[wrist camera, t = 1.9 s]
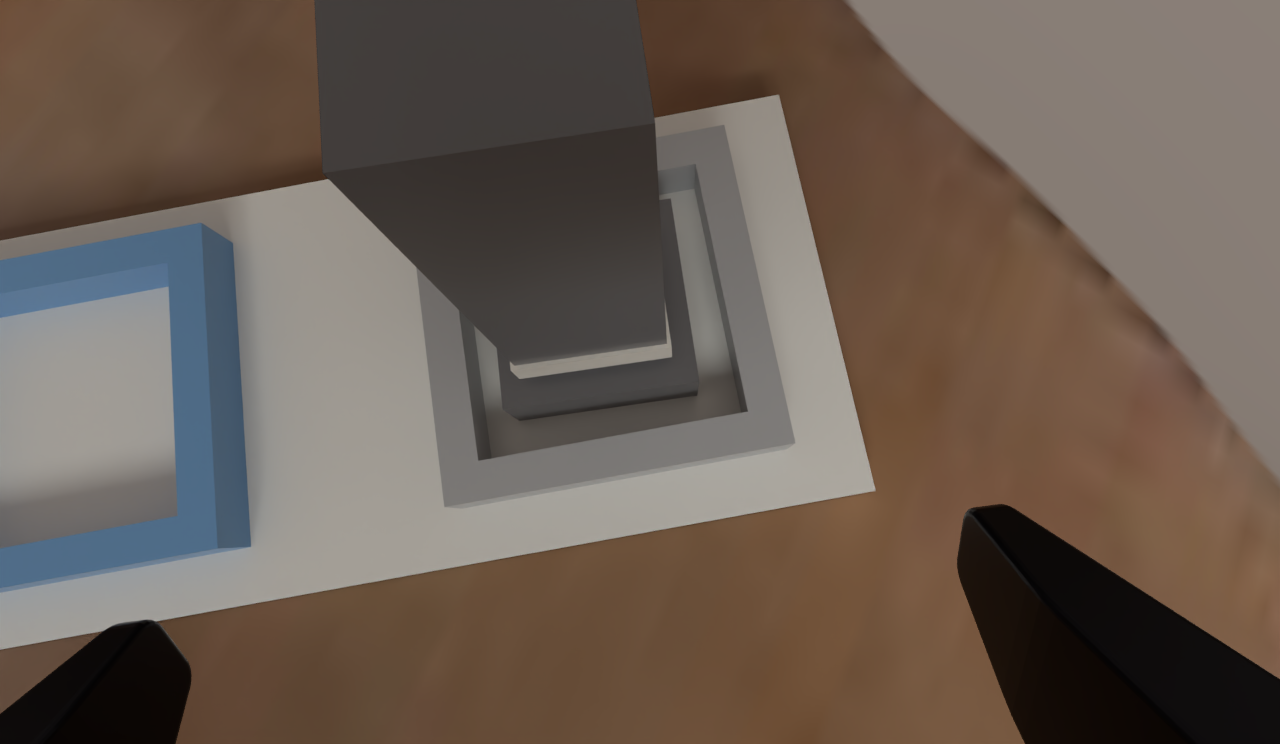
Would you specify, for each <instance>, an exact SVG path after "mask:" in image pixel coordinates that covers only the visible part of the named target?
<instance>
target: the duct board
mask: <svg viewBox="0 0 1280 744" xmlns="http://www.w3.org/2000/svg"><path fill="white" fill-rule="evenodd" d="M654 119H655V130H656V149H657V167H658V186H659V200H663V199H670V198H671V203H672V210H673V216H674V222H675V229H676V235H677V242H678V248H679V254H680V261H681V267H682V274H683V280H684V286H685V293H686V299H687V305H688V312H689V318H690V325H691V331H692V337H693V344H694V350H695V356H696V363H697V369H698V376H699V387H698V394H697V396H691V397H684V398H677V399H670V400H663V401H656V402H649V403H642V404H635V405H628V406H621V407H614V408H607V409H600V410H593V411H586V412H578V413H571V414H564V415H557V416H550V417H543V418H536V419H529V420H522V421H519V420H517V419H516V418H514V417H513V416H511V415H510V414H508V413H507V412H505V411H504V410H503V409H502V398H501V388H500V378H499V367H498V357H497V348H496V347H495V346H494V345H493V344H492V343H491V342H490V341H489V340H488V339H487V338H486V337H485V336H484V335H483V334H482V333H481V332H480V331H479V330H478V329H477V328H476V327H475V326H474V325H473V324H472V323H471V322H470V321H469V320H468V319H467V318H466V317H465V316H464V315H463V314H462V313H461V312H460V311H459V310H458V309H457V308H456V307H455V306H454V305H453V304H452V303H451V302H450V301H449V300H448V299H447V298H446V297H445V296H444V295H443V294H442V293H441V292H440V291H439V290H438V289H437V288H436V287H435V286H434V285H433V284H432V283H431V282H430V281H429V280H428V279H427V278H426V276H425V275H424V274H423V273H422V272H421V271H420V270H419V269H418V268H417V267H416V266H415V265H414V264H413V263H412V262H411V261H410V260H409V259H408V258H407V257H406V256H405V255H404V254H403V253H402V252H401V251H400V250H399V249H398V248H397V247H396V246H395V245H394V244H393V243H392V242H391V241H390V240H389V239H388V238H387V237H386V236H385V235H384V234H383V233H382V232H381V231H380V230H379V229H378V228H377V227H376V226H375V225H374V224H373V223H372V222H371V221H370V220H369V219H368V218H367V217H366V216H365V215H364V214H363V213H362V212H361V211H360V210H359V209H358V208H357V207H356V206H355V205H354V204H353V203H352V202H351V201H350V200H349V199H348V198H347V197H346V196H345V195H344V194H343V193H342V192H341V191H340V190H339V189H338V188H337V187H336V186H335V185H334V184H333V183H332V182H331V181H330V180H329V179H326V180H321V181H316V182H310V183H305V184H300V185H294V186H289V187H284V188H278V189H273V190H268V191H262V192H257V193H252V194H246V195H241V196H236V197H230V198H225V199H220V200H214V201H209V202H204V203H198V204H193V205H188V206H182V207H177V208H172V209H166V210H161V211H156V212H150V213H145V214H140V215H134V216H129V217H124V218H118V219H113V220H108V221H102V222H97V223H92V224H86V225H81V226H76V227H70V228H65V229H60V230H54V231H49V232H44V233H38V234H33V235H28V236H22V237H17V238H12V239H6V240H1V241H0V650H1V649H7V648H12V647H18V646H23V645H29V644H34V643H40V642H45V641H51V640H56V639H62V638H67V637H73V636H78V635H84V634H89V633H95V632H100V631H104V630H106V629H107V628H109V627H110V626H112V625H115V624H118V623H124V622H131V621H139V620H146V619H148V620H153V621H161V620H166V619H172V618H177V617H183V616H188V615H194V614H199V613H205V612H210V611H216V610H221V609H227V608H232V607H238V606H244V605H249V604H255V603H260V602H266V601H271V600H277V599H282V598H288V597H293V596H299V595H304V594H310V593H315V592H321V591H326V590H332V589H337V588H343V587H348V586H354V585H359V584H365V583H370V582H376V581H381V580H387V579H392V578H398V577H403V576H409V575H414V574H420V573H425V572H431V571H436V570H442V569H447V568H453V567H458V566H464V565H469V564H475V563H481V562H486V561H492V560H497V559H503V558H508V557H514V556H519V555H525V554H530V553H536V552H541V551H547V550H552V549H558V548H563V547H569V546H574V545H580V544H585V543H591V542H596V541H602V540H607V539H613V538H618V537H624V536H629V535H635V534H640V533H646V532H651V531H657V530H662V529H668V528H673V527H679V526H684V525H690V524H695V523H701V522H706V521H712V520H717V519H723V518H729V517H734V516H740V515H745V514H751V513H756V512H762V511H767V510H773V509H778V508H784V507H789V506H795V505H800V504H806V503H811V502H817V501H822V500H828V499H833V498H839V497H844V496H850V495H855V494H861V493H866V492H871V491H875V486H874V482H873V478H872V474H871V470H870V466H869V462H868V458H867V454H866V450H865V446H864V441H863V437H862V433H861V429H860V425H859V421H858V417H857V413H856V409H855V405H854V400H853V396H852V392H851V388H850V384H849V380H848V376H847V372H846V368H845V364H844V360H843V355H842V351H841V347H840V343H839V339H838V335H837V331H836V327H835V323H834V319H833V315H832V310H831V306H830V302H829V298H828V294H827V290H826V286H825V282H824V278H823V274H822V269H821V265H820V261H819V257H818V253H817V249H816V245H815V241H814V237H813V233H812V229H811V224H810V220H809V216H808V212H807V208H806V204H805V200H804V196H803V192H802V188H801V184H800V179H799V175H798V171H797V167H796V163H795V159H794V155H793V151H792V147H791V143H790V138H789V134H788V130H787V126H786V122H785V118H784V114H783V110H782V106H781V102H780V98H779V95H774V96H769V97H763V98H758V99H753V100H747V101H742V102H737V103H731V104H726V105H721V106H715V107H710V108H705V109H699V110H694V111H689V112H683V113H678V114H673V115H667V116H662V117H657V118H654Z"/></svg>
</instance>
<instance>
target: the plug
mask: <svg viewBox="0 0 1280 744" xmlns="http://www.w3.org/2000/svg"><path fill="white" fill-rule="evenodd" d="M315 20H316V42H317V63H318V85H319V106H320V128H321V149H322V171H323V174H324V175H325V176H326V177H327V178H328V179H329V180H330V181H331V182H332V183H333V184H334V185H335V186H336V187H337V188H338V189H339V190H340V191H341V192H342V193H343V194H344V195H345V196H346V197H347V198H348V199H349V200H350V201H351V202H352V203H353V204H354V205H355V206H356V207H357V208H358V209H359V210H360V211H361V212H362V213H363V214H364V215H365V216H366V217H367V218H368V219H369V220H370V221H371V222H372V223H373V224H374V225H375V226H376V227H377V228H378V229H379V230H380V231H381V232H382V233H383V234H384V235H385V236H386V237H387V238H388V239H389V240H390V241H391V242H392V243H393V244H394V245H395V246H396V247H397V248H398V249H399V250H400V251H401V252H402V253H403V254H404V255H405V256H406V257H407V258H408V259H409V260H410V261H411V262H412V263H413V264H414V265H415V266H416V267H417V268H418V269H419V270H420V271H421V272H422V273H423V274H424V275H425V276H426V278H427V279H428V280H429V281H430V282H431V283H432V284H433V285H434V286H435V287H436V288H437V289H438V290H439V291H440V292H441V293H442V294H443V295H444V296H445V297H446V298H447V299H448V300H449V301H450V302H451V303H452V304H453V305H454V306H455V307H456V308H457V309H458V310H459V311H460V312H461V313H462V314H463V315H464V316H465V317H466V318H467V319H468V320H469V321H470V322H471V323H472V324H473V325H474V326H475V327H476V328H477V329H478V330H479V331H480V332H481V333H482V334H483V335H484V336H485V337H486V338H487V339H488V340H489V341H490V342H491V343H492V344H493V345H494V346H495V347H496V348H497V357H498V367H499V378H500V388H501V398H502V409H503V410H504V411H505V412H507V413H508V414H510V415H511V416H513V417H514V418H516V419H517V420H519V421H522V420H529V419H536V418H543V417H550V416H557V415H564V414H571V413H578V412H586V411H593V410H600V409H607V408H614V407H621V406H628V405H635V404H642V403H649V402H656V401H663V400H670V399H677V398H684V397H691V396H697V394H698V387H699V376H698V369H697V363H696V356H695V350H694V344H693V337H692V331H691V325H690V318H689V312H688V305H687V299H686V293H685V286H684V280H683V274H682V267H681V261H680V254H679V248H678V242H677V235H676V229H675V222H674V216H673V210H672V203H671V198H670V199H663V200H659V186H658V167H657V149H656V130H655V119H654V113H653V106H652V100H651V93H650V87H649V81H648V74H647V68H646V61H645V55H644V48H643V42H642V35H641V29H640V23H639V16H638V10H637V3H636V0H315Z"/></svg>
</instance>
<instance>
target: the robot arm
mask: <svg viewBox="0 0 1280 744" xmlns="http://www.w3.org/2000/svg"><path fill="white" fill-rule="evenodd" d="M957 568H958V574H959V578H960V582H961V584H962V587H963V590H964V592H965V595H966V598H967V600H968V603H969V606H970V608H971V611H972V614H973V616H974V619H975V622H976V624H977V627H978V630H979V632H980V635H981V637H982V640H983V643H984V645H985V648H986V651H987V653H988V656H989V659H990V661H991V664H992V667H993V669H994V672H995V675H996V677H997V680H998V683H999V685H1000V688H1001V691H1002V693H1003V696H1004V698H1005V701H1006V703H1007V706H1008V708H1009V710H1010V713H1011V715H1012V717H1013V720H1014V722H1015V724H1016V726H1017V728H1018V730H1019V732H1020V734H1021V736H1022V739H1023V741H1024V742H1025V744H1280V679H1279V678H1277V677H1276V676H1274V675H1272V674H1271V673H1269V672H1268V671H1266V670H1265V669H1263V668H1262V667H1260V666H1258V665H1257V664H1255V663H1254V662H1252V661H1251V660H1249V659H1248V658H1246V657H1244V656H1243V655H1241V654H1240V653H1238V652H1237V651H1235V650H1234V649H1232V648H1230V647H1229V646H1227V645H1226V644H1224V643H1223V642H1221V641H1220V640H1218V639H1216V638H1215V637H1213V636H1212V635H1210V634H1209V633H1207V632H1205V631H1204V630H1202V629H1201V628H1199V627H1198V626H1196V625H1195V624H1193V623H1192V622H1190V621H1188V620H1187V619H1185V618H1184V617H1182V616H1181V615H1179V614H1177V613H1176V612H1174V611H1173V610H1171V609H1170V608H1168V607H1167V606H1165V605H1163V604H1162V603H1160V602H1159V601H1157V600H1156V599H1154V598H1153V597H1151V596H1149V595H1148V594H1146V593H1145V592H1143V591H1142V590H1140V589H1139V588H1137V587H1135V586H1134V585H1132V584H1131V583H1129V582H1128V581H1126V580H1125V579H1123V578H1121V577H1120V576H1118V575H1117V574H1115V573H1114V572H1112V571H1111V570H1109V569H1107V568H1106V567H1104V566H1103V565H1101V564H1100V563H1098V562H1097V561H1095V560H1093V559H1092V558H1090V557H1089V556H1087V555H1086V554H1084V553H1083V552H1081V551H1079V550H1078V549H1076V548H1075V547H1073V546H1072V545H1070V544H1069V543H1067V542H1065V541H1064V540H1062V539H1061V538H1059V537H1058V536H1056V535H1055V534H1053V533H1051V532H1050V531H1048V530H1047V529H1045V528H1044V527H1042V526H1041V525H1039V524H1037V523H1036V522H1034V521H1033V520H1031V519H1030V518H1028V517H1027V516H1025V515H1023V514H1022V513H1020V512H1019V511H1017V510H1016V509H1014V508H1012V507H1010V506H1008V505H1004V504H997V505H989V506H982V507H975V508H971V509H969V510H968V511H967V512H966V513H965V515H964V519H963V525H962V531H961V538H960V544H959V551H958V557H957ZM190 685H191V668H190V665H189V662H188V661H187V659H186V658H185V657H184V655H183V654H182V653H181V651H180V650H179V649H178V647H177V646H176V645H175V643H174V642H173V641H172V639H171V638H170V637H169V635H168V634H167V633H166V631H165V630H164V629H163V627H162V626H161V625H160V624H159V623H158V622H156V621H153V620H148V619H146V620H139V621H131V622H124V623H118V624H115V625H112V626H110V627H109V628H107V629H106V630H104V631H103V632H102V633H101V634H99V635H98V636H97V637H96V638H94V639H93V640H92V641H91V642H89V643H88V644H87V645H86V646H84V647H83V648H82V649H81V650H79V651H78V652H77V653H76V654H74V655H73V656H72V657H71V658H69V659H68V660H67V661H66V662H64V663H63V664H62V665H61V666H59V667H58V668H57V669H56V670H54V671H53V672H52V673H51V674H49V675H48V676H47V677H46V678H44V679H43V680H42V681H41V682H40V683H38V684H37V685H36V686H35V687H33V688H32V689H31V690H30V691H28V692H27V693H26V694H25V695H23V696H22V697H21V698H20V699H18V700H17V701H16V702H15V703H13V704H12V705H11V706H10V707H8V708H7V709H6V710H5V711H3V712H2V713H1V714H0V744H176V740H177V736H178V732H179V728H180V724H181V721H182V717H183V713H184V709H185V705H186V701H187V697H188V694H189V690H190Z"/></svg>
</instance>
